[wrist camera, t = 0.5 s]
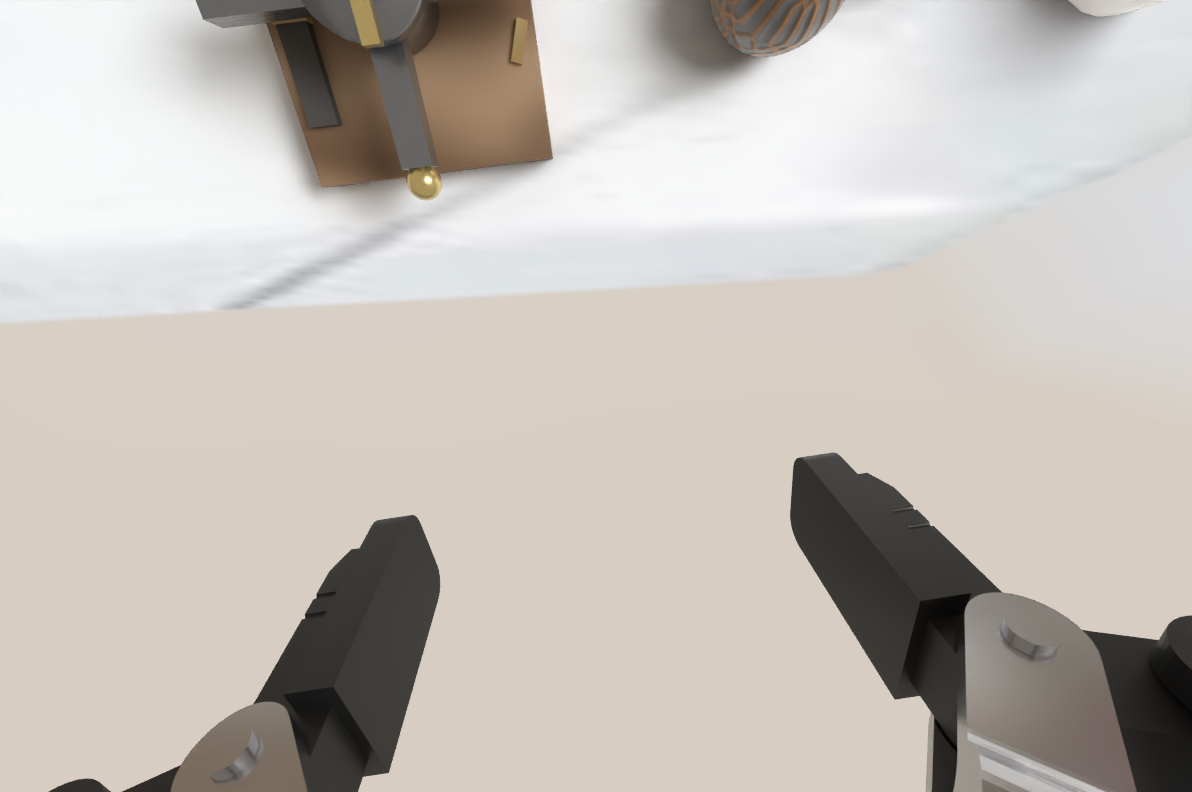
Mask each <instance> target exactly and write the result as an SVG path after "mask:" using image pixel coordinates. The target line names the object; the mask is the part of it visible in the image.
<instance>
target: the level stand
mask: <svg viewBox="0 0 1192 792" xmlns="http://www.w3.org/2000/svg"><path fill="white" fill-rule="evenodd" d="M438 4H439V21H438V26H437V30H436V32H435V35H434V37H433V38H432V40H431V42H430V43H429V44H428V45H427V46H426V47H425V48H424V49H423V50H421V51H419V52H417V53H415V54H412V55H413V59H414V64H415V68H416V72H417V76H418V81H419V85H420V89H421V93H422V98H423V102H424V106H425V110H426V115H427V119H428V123H429V127H430V131H431V136H432V140H433V144H434V148H435V153H436V157H437V161H438V165H439V166H437V167H433V168H434V169H435V170H436V171H437V172H438V173H444V172H452V171H460V170H468V169H476V168H483V167H491V166H499V165H507V164H515V163H522V162H530V161H538V160H546V159H553V156H552V149H551V142H550V134H549V127H548V120H547V113H546V106H545V99H544V91H543V84H542V77H541V70H540V63H539V55H538V48H537V41H536V34H535V27H534V19H533V12H532V5H531V0H445V1H438ZM267 26H268V29H269V32H270V35H271V38H272V41H273V44H274V47H275V50H276V53H277V56H278V59H279V61H280V64H281V67H282V70H283V73H284V76H285V79H286V82H287V85H288V88H289V91H290V94H291V97H292V100H293V103H294V106H295V109H296V111H297V114H298V117H299V120H300V123H301V126H302V129H303V132H304V135H305V138H306V141H307V144H308V147H309V150H310V153H311V156H312V158H313V161H314V164H315V167H316V170H317V173H318V176H319V179H320V182H321V185H322V187H333V186H343V185H351V184H359V183H366V182H374V181H382V180H390V179H398V178H405V177H407V173H408V171H409V170H402V169H401V165H400V161H399V157H398V154H397V150H396V146H395V142H394V139H393V135H392V131H391V128H390V124H389V120H388V116H387V113H386V109H385V105H384V101H383V98H382V94H381V90H380V87H379V83H378V79H377V75H376V72H375V68H374V64H373V60H372V57H371V53H370V49H369V48H367V49H366V48H365V47H363V46H361V45H357V44H354V43H352V42H349V41H347V40H346V39H344V38H342V37H340V36H339V35H337V34H335V33H334V32H332V31H331V30H329V29H328V28H326V27H325V26H324V25H322V24H321V23H320V22H319V21H318V20H317V19H316V18H315V17H309V18H300V19H292V20H284V21H276V22H268V23H267Z"/></svg>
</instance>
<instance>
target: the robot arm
mask: <svg viewBox="0 0 1192 792" xmlns="http://www.w3.org/2000/svg"><path fill="white" fill-rule="evenodd" d="M790 518H791V519H790V520H791V526H792V530H793V533H794V536H795V538H796V541H797V543H798V545H799V547H800V548H801V550H802V551H803V553H804V555H805V556H806V558H807V559H808V561H809V563H810V564H811V566H812V567H813V569H814V571H815V572H816V574H817V575H818V577H819V579H820V580H821V582H822V583H823V585H824V587H825V588H826V590H827V591H828V593H829V595H830V596H831V598H832V600H833V601H834V603H835V604H836V606H837V608H838V609H839V611H840V612H841V614H842V616H843V617H844V619H845V620H846V622H847V624H848V625H849V627H850V628H851V630H852V632H853V633H854V635H855V636H856V638H857V640H858V641H859V643H860V644H861V646H862V648H863V649H864V651H865V652H866V654H867V656H868V657H869V659H870V660H871V662H872V664H873V665H874V667H875V669H876V670H877V672H878V673H879V675H880V677H881V678H882V680H883V681H884V683H885V685H886V686H887V688H888V689H889V691H890V693H891V694H892V696H893V697H894V699H901V698H907V697H915V696H921V698H922V699H923V700H924V702H925V703H926V705H927V706H928V708H929V709H930V711H931V715H930V718H929V727H928V728H929V729H928V753H927V776H926V792H1192V616H1184V617H1179V618H1177V619H1175V620H1173V621H1172V622H1171V623H1170V624H1169V625H1168V626H1167V628H1166V629H1165V631H1164V633H1163V634H1162V636H1161V637H1160V639H1159V640H1152V639H1145V638H1137V637H1130V636H1122V635H1115V634H1107V633H1099V632H1091V631H1085V630H1081V629H1080V628H1079V627H1078V626H1077V625H1076V624H1075V623H1073V622H1072V621H1071V620H1069V619H1068V618H1067V617H1065V616H1064V615H1062V614H1060V613H1059V612H1057V611H1056V610H1054V609H1052V608H1050V607H1048V606H1046V605H1044V604H1042V603H1039V602H1037V601H1035V600H1032V599H1029V598H1026V597H1023V596H1019V595H1014V594H1008V593H1002V592H1001V591H1000V590H999V589H998V588H996V586H995V585H994V584H993V583H992V582H991V581H990V580H988V578H986V576H985V575H984V574H983V573H981V572H980V571H979V570H978V569H977V568H976V567H975V566H974V565H973V564H972V563H971V562H970V561H969V560H968V559H967V558H966V557H965V556H964V555H963V554H962V553H961V552H960V551H959V550H958V549H957V548H956V547H955V546H954V545H953V544H952V543H951V542H949V540H947V539H946V538H945V537H944V536H943V535H942V534H941V533H940V532H939V531H938V530H937V529H936V528H935V527H934V526H930V524H929V521H928V520H927V519H926V518H925V517H924V516H923V515H922V514H921V513H920V512H919V511H918V510H914V509H913V506H912V505H911V504H910V503H909V502H908V501H907V500H906V499H905V498H904V497H903V496H902V495H901V494H900V493H899V492H898V491H897V490H896V489H895V488H894V487H892V486H890V485H889V484H887V483H885V482H883V481H881V480H879V479H878V478H876V477H874V476H872V475H870V474H868V473H864V474H857V473H856V472H855V471H854V470H853V469H852V468H851V467H850V466H849V465H848V464H847V463H846V462H845V460H844V459H843V458H842V457H840V456H839V455H838V454H837V453H828V454H820V455H814V456H807V457H800V458H797V459H796V460H795V462H794V467H793V481H792V496H791V510H790ZM439 593H440V575H439V570H438V566H437V564H436V561H435V559H434V556H433V554H432V551H431V549H430V546H429V544H428V541H427V539H426V536H425V534H424V531H423V529H422V526H421V524H420V522H419V520H418V518H417V517H416V516H414V515H410V516H403V517H397V518H390V519H383V520H377V521H376V522H374V523H373V525H372V526H371V528H370V530H369V532H368V534H367V535H366V538H365V540H364V541H363V543H362V545H361V547H360V548H359V549H352V550H350V552H348V553H347V554H346V555H345V556H344V557H343V558H342V559H341V560H340V561H339V562H338V563H337V564H336V565H335V566H334V567H333V569H331V570H330V572H329V573H328V575H327V577H326V579H325V580H324V582H323V584H322V585H321V587H320V589H319V591H318V593H317V598H316V599H314V600H313V601H312V603H311V605H310V607H309V608H308V610H307V612H306V613H305V619H302V621H301V622H300V624H299V626H298V627H297V629H296V631H295V633H294V635H293V636H292V638H291V640H290V641H289V643H288V645H287V647H286V648H285V650H284V652H283V654H282V655H281V657H280V659H279V661H278V663H277V664H276V666H275V668H274V669H273V671H272V673H271V675H270V676H269V678H268V680H267V682H266V683H265V685H264V687H263V689H262V690H261V692H260V694H259V696H258V697H257V699H256V701H255V702H254V704H253V705H250V706H247V707H245V708H243V709H241V710H239V711H237V712H235V713H233V714H232V715H230V716H228V717H227V718H225V719H224V720H223V721H222V722H220V723H218V724H217V725H216V726H215V727H214V728H212V729H211V730H210V731H209V732H208V733H207V734H206V735H205V736H204V737H203V738H202V739H201V740H200V741H199V742H198V743H197V744H196V745H195V747H194V748H193V749H192V750H191V751H190V753H189V754H188V756H187V757H186V758H185V760H184V761H183V763H182V765H180V766H178V767H176V768H173V769H171V770H169V771H167V772H165V773H162V774H160V775H158V776H156V777H154V778H151V779H149V780H147V781H145V782H143V783H140V784H138V785H136V786H134V787H132V788H130V789H127V790H125V791H123V792H358V790H359V787H360V784H361V781H362V777H364V776H370V775H378V774H384V773H389V770H390V767H391V763H392V760H393V756H394V753H395V749H396V746H397V742H398V738H399V735H400V731H401V728H402V724H403V721H404V717H405V714H406V710H407V707H408V703H409V700H410V696H411V693H412V689H413V686H414V682H415V678H416V675H417V672H418V668H419V664H420V661H421V657H422V654H423V651H424V647H425V643H426V640H427V637H428V633H429V630H430V626H431V623H432V619H433V616H434V612H435V608H436V605H437V602H438V597H439ZM49 792H111V791H109V790H108V789H107V788H106V787H105V786H103V785H102V784H101V783H100V782H98V781H96V780H94V779H79V780H75V781H72V782H69V783H66V784H64V785H61V786H59V787H57V788H55V789H53V790H51V791H49Z"/></svg>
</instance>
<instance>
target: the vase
mask: <svg viewBox="0 0 1192 792" xmlns="http://www.w3.org/2000/svg"><path fill="white" fill-rule="evenodd" d="M844 1H845V0H711V7H712V12H713V16H714V19H715V22H716V25H717V27H718V29H719V31H720V32H721V34H722V35H723V37H724V38H725V39H726V41H727V42H728V43H729V44H730V45H732V46H733V47H734V48H736V49H737V50H739V51H741V52H743V53H745V54H748V55H751V56H757V57H772V56H777V55H780V54H784V53H787V52H789V51H791V50H794V49H796V48H798V47H800V46H801V45H803V44H805V43H806V42H808V41H809V40H810V39H812V38H813V37H814V36H816V35H817V34H818V33H819V32H820V31H821V30H822V29H823V28H824V27H825V26H826V25H827V24H828V23H829V22H830V21H831V19H832V18H833V17H834V16H835V14H836V13H837V12H838V10H839V9H840V7H841V6H842V4H843V3H844Z"/></svg>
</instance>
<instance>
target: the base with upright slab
mask: <svg viewBox="0 0 1192 792" xmlns="http://www.w3.org/2000/svg"><path fill="white" fill-rule="evenodd" d="M1164 1H1168V0H1069V2H1071V3H1072V4H1073V5H1074V6H1075V7H1076V8H1077V9H1078V10H1080V11H1081V12H1083V13H1086V14H1090V15H1093V16H1096V17H1102V16H1115V15H1119V14H1122V13H1126V12H1129V11H1133V10H1136V9H1140V8H1143V7H1147V6H1150V5H1154V4H1157V3H1161V2H1164Z"/></svg>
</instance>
